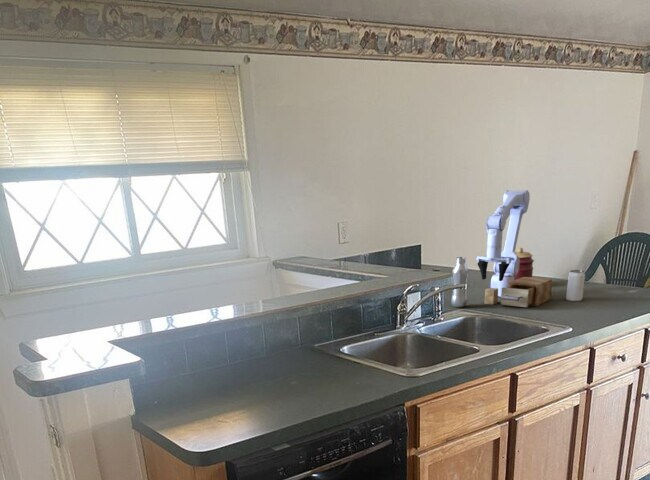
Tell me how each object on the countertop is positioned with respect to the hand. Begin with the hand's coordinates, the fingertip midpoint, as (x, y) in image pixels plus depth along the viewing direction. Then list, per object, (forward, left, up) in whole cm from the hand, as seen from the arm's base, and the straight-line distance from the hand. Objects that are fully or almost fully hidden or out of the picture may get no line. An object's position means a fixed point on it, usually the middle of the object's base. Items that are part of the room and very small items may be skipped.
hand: (492, 279), depth 272 cm
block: (0, 0, -10) cm, 10 cm away
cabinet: (+12, +11, -10) cm, 19 cm away
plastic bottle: (-8, -13, -10) cm, 18 cm away
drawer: (+12, 0, -9) cm, 15 cm away
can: (+27, +22, -10) cm, 36 cm away
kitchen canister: (-6, +39, -10) cm, 41 cm away
